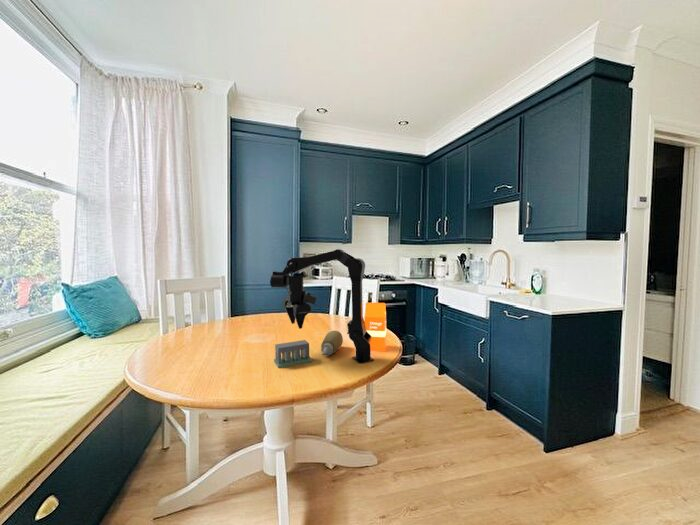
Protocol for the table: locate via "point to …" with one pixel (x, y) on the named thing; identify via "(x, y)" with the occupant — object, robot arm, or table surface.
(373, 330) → the orange juice
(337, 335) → the squeeze bottle
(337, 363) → the table surface
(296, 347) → the block
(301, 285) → the robot arm
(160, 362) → the table surface
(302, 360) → the strip
